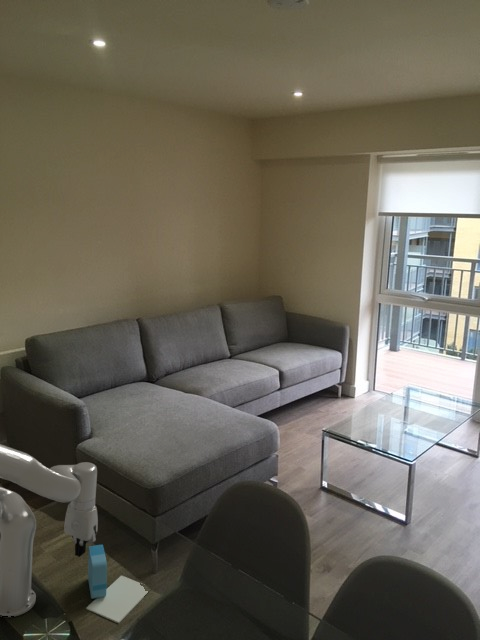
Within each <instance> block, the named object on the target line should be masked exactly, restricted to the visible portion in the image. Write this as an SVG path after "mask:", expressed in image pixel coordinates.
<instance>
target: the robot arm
mask: <svg viewBox="0 0 480 640" xmlns="http://www.w3.org/2000/svg"><path fill="white" fill-rule="evenodd" d="M0 479H2V480H6V481H10V482H12V483H14V484H17V485H18V486H20V487H21V488H24V489H26V490H28V491H31V492H33V493H34V494H37V495H39V496H41V497H43V498H46V499H49V500H53V501H56V502H59V503H68V505H67V509H66V512H65V518H64V526H63V528H64V529H63V531H64V533H65V534H67V535H68V536H71V538H72V539H73V543H74V556H76V557H78V558H80V557H81V556H83V555H84V554H85V553H86V551H87V550H86V549H87V543H90V544H91V543H94V542H96V541H97V539H96V535H97V534H98V530H99V529H98V528H99V527H98V524H99V520H98V519H99V518H98V517H99V516H98V509H97V506H96V496H97V495H96V493H97V481H98V480H97V479H98V468H97V465H95V464H94V463H92V462H88V461H87V462H86V461H85V462H79V463H77V464H57V465H54V466H51V467H50V468H49V467H46V466H45V465H44V464H42V463H41V462H40V461H39V460H37V459H36V458H35V457H34V456H32V455H30V454H29V453H27V452H24V451H21V450H17V449H15V448H13V447H9V446H7V445H4V444H1V443H0ZM36 530H37V520H36V516H35V514H34V512H33V510H32V509H31V508H30V506H29V505H28V504H27V502H26V501H25V500H24V498H23V497H22V496H21V495H20V494H19V493H18V492H16V491H12V490H10V489H7V488H5V487H2V486H0V615H2V616H8V617H7V618H12V617H11V616H14V617H17V616H21V615H23V614H25V613H27V612H28V611H30V610H32V608H34V605H35V604H36V600H37V599H36V598H37V595H36V592H35V591H34V590H33V589H32V576H33V575H32V572H33V571H32V570H33V552H34V550H33V547H34V538H35V534H36ZM2 616H1V617H2Z"/></svg>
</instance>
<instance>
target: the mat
mask: <svg viewBox="0 0 480 640" xmlns="http://www.w3.org/2000/svg"><path fill="white" fill-rule="evenodd" d="M140 583H141V582H138V581H136V580H134V579H131V578H129V577H126V576H124V575H120V576H119V577H118V578H117V579H116V580H114V582H113V583H111V584H110V585H109V586H108V587H106V596H104V597H99V598H94V600H93V601H92V602H91V603H90V604H88V606H87V607H85V608H86V610H87V611H89V612H92V613H94V614H97V615H98V616H101V617H103V618H105V619H107V620H109V621H112V622H114V623H117V624H120V623H121V622H122V621H123V620H125V618H126V617H127V616H128V615H129V614H130V613H131V612H132V611H133V609H135V608H136V606H137V605H138V604H140V602H141V601H142V600H143V599H145V597H146V596H147V595H148V594H149V593H148V591H145V589H144V587H143V586H141V585H140ZM147 593H148V594H147ZM146 594H147V595H146ZM145 595H146V596H145ZM144 596H145V597H144Z"/></svg>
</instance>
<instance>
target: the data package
mask: <svg viewBox="0 0 480 640" xmlns="http://www.w3.org/2000/svg"><path fill="white" fill-rule="evenodd" d="M87 549H88V550H87V551H88V553H87V554H88V555H87V560H88V562H87V579H88V586H89V591H90V593H89V594H90V598H91V600H93V599H96V598H99V597H104V596H106V589H107V585H108V584H107V579H108V578H107V575H108V572H107V571H108V564H107V563H108V562H107V558H106V552H105V548H104V545H103V544H96V545H92V546H91V545H90V546H88V548H87Z"/></svg>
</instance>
